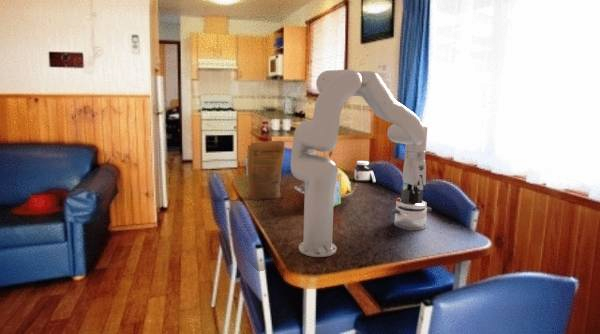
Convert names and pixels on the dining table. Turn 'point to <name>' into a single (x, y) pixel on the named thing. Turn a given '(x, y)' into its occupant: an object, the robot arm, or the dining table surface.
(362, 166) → the spread jar
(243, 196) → the dining table surface
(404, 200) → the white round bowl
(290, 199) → the dining table surface
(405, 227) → the pot
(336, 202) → the snack box
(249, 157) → the pancake mix bag
